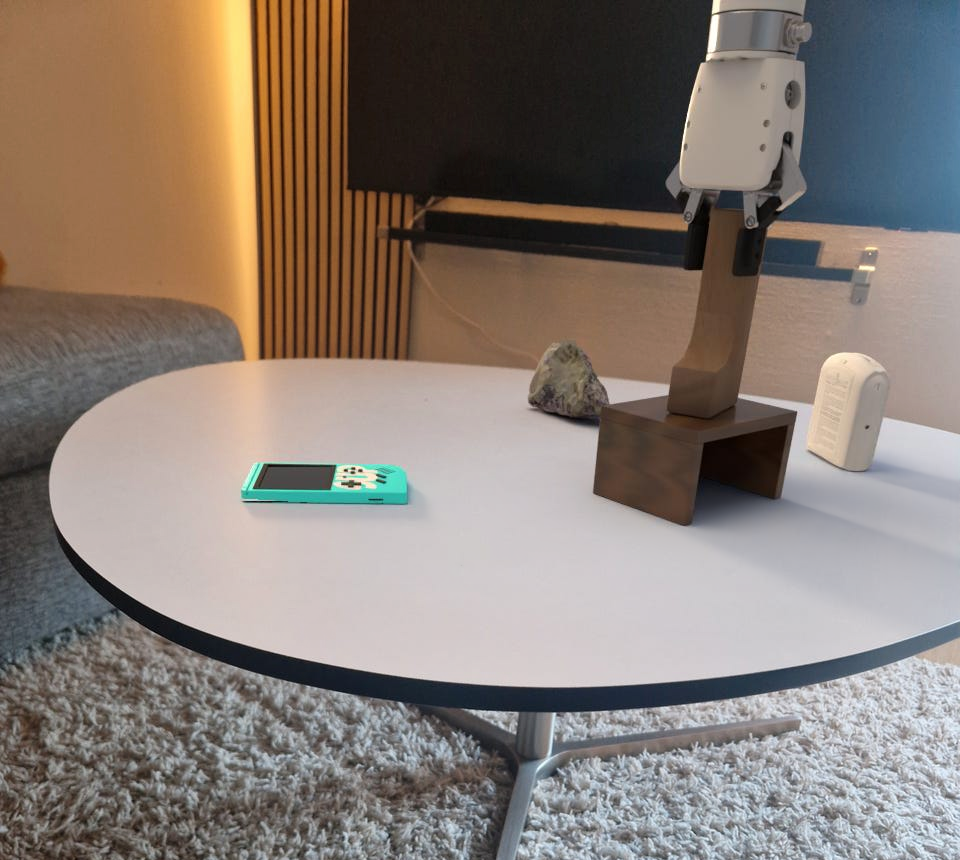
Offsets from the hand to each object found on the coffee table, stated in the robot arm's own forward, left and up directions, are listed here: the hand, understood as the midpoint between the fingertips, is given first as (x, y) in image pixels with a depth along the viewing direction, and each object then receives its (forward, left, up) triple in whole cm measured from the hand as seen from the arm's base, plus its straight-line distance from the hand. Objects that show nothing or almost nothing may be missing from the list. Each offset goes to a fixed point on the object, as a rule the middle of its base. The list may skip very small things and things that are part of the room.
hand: (720, 270), depth 87 cm
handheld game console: (+22, +30, -22) cm, 43 cm away
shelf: (0, 0, -22) cm, 22 cm away
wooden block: (0, 0, -13) cm, 13 cm away
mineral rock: (+32, -14, -22) cm, 41 cm away
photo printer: (-1, -27, -22) cm, 35 cm away
